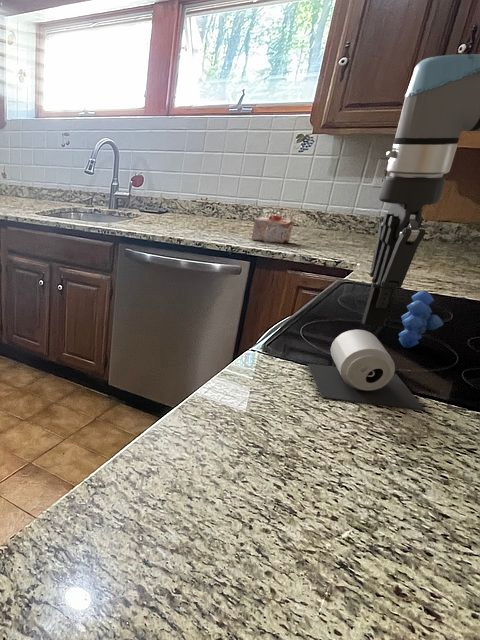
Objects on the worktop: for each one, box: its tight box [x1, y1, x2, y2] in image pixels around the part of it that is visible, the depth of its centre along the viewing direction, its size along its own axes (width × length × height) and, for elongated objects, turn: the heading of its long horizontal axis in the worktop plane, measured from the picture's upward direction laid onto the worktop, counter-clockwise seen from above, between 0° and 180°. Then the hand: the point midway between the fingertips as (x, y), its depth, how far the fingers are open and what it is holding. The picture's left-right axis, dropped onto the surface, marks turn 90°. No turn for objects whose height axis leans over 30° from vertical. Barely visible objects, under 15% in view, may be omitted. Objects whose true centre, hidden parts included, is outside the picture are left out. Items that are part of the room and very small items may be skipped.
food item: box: [250, 214, 295, 244], centre depth 201 cm, size 14×8×10 cm, turn 41°
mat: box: [306, 363, 426, 412], centre depth 89 cm, size 14×14×1 cm
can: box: [329, 329, 396, 391], centre depth 90 cm, size 8×8×12 cm
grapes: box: [398, 290, 444, 349], centre depth 102 cm, size 12×7×12 cm, turn 136°
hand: (372, 324), depth 87 cm, fingers closed
